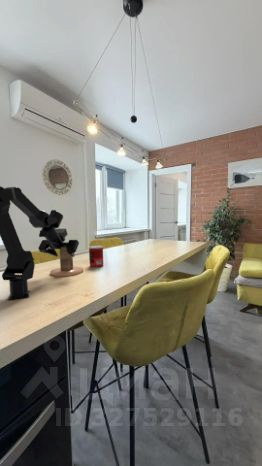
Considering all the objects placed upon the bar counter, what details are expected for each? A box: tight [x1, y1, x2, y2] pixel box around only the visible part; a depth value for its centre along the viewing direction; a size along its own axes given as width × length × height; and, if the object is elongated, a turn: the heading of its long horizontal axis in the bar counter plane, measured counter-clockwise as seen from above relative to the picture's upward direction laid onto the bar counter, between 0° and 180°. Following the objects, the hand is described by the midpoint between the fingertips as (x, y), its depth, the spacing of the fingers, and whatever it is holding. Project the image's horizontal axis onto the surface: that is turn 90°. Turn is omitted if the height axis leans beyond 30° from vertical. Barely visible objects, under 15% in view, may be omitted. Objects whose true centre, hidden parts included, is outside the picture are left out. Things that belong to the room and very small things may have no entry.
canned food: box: [88, 245, 104, 268], centre depth 125 cm, size 8×8×11 cm
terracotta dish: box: [49, 266, 84, 278], centre depth 112 cm, size 16×16×1 cm
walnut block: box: [59, 247, 74, 271], centre depth 111 cm, size 4×4×13 cm
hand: (65, 256), depth 111 cm, fingers open, 9 cm apart
